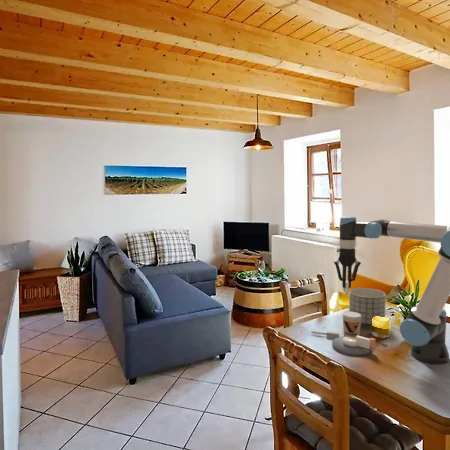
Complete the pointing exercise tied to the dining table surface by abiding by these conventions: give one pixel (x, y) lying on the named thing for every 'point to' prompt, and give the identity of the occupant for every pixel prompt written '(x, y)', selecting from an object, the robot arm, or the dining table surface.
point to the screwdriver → (328, 334)
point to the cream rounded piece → (360, 342)
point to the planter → (367, 304)
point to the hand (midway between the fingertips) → (346, 294)
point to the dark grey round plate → (348, 348)
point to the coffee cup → (351, 324)
